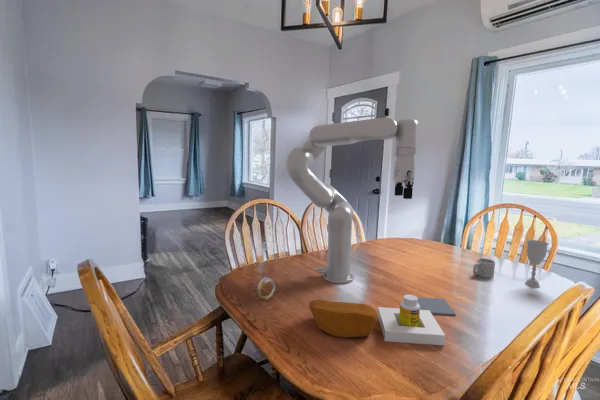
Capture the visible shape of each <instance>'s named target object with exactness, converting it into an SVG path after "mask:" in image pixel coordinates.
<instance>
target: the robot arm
mask: <svg viewBox="0 0 600 400" xmlns="http://www.w3.org/2000/svg"><path fill="white" fill-rule="evenodd" d="M418 125H419V124H418V121H417V120H416V119H413V118H411V119H409V118H408V119H407V118H406V119H405V118H404V119H400V120H395V119H393V118H391V117H378V118H368V119H363V120H362V119H361V120H354V121H346V122H339V123H338V122H337V123H328V124H322V125H321V124H320V125H316V126H313V127H312V128H311V129H310V130H309V133H308V135H309V136H308V139H307V140H306V141H305V142H304V144H303V145H302V146H297V147H294V148H293V149H291V150H290V152H289V154H288V155H287V157H286V172H287V174H288V177H289V178H290V180H291V181H292V182H293V183H294V184H295V185H296V186H297V188H299V190H300V191H302V193H303V194H304V195H305V196H306V197H307V198H308V199H309V200H310V201H311V202H312V203H313V205H315V206H316V207H317V208H320V209H325V211H326V212H327V213H328V216H327V217H328V218H327V224H328V225H327V226H328V227H327V229H328V236H327V237H328V238H327V264H326V266H324V267H323V266H322V267H321V266H317V267H316V272H319V274H323V279H324V280H325V281H327V282H329V283H333V284H338V285H339V284H343V285H344V284H348V283H351V282H353V281H354V278H355V276H354V275H353V273H351V259H352V256H351V255H352V230H353V215H354V208H353V206H352V205H351V204H350V203H349V201H347V200H346V198H345V197H344V196H343V195H341V193H340V192H338V190H337V189H335V188H334V186H332V185H331V184H328V183H323V181H322V180H320V178H318V176H316V174H315V173H313V171H311V170H310V168H309V167H310V166H311V165H313V163H314V162H315V161H316V160H317V159H318V158H319V157H320V156H321V154H323V152H324V151H326V149H327V148H328V147H333V146H334V147H335V146H342V145H343V146H344V145H352V144H355V143H359V142H362V141H363V142H365V141H371V140H372V141H373V140H394V139H395V148H394V149H395V151H394V157H395V161H394V167H393V176H392V177H393V178H392V179H393V181H394V196H402V198H403V200H404V199H406V200H411V199H413V191H414V190H413V188H414V184H415V183H414V181H415V157H416V156H417V141H418Z"/></svg>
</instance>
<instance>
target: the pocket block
mask: <svg viewBox="0 0 600 400" xmlns="http://www.w3.org/2000/svg"><path fill="white" fill-rule="evenodd" d="M399 314H400V307H395V308H394V307H383V306H382V307H381V306H378V307H377V315H378V318H377V320H378V322H379V325H380V329H381V332H382V336H383V340H384V342H389V343H390V342H391V343H393V342H394V343H403V344H404V343H405V344H418V345H430V346H431V345H432V346H445V343H446V334H445V332H444V331H443V329H442V328H441V326H440V324H439V323H438V322H437V320H436V318H435V317H434V314H431V312H430V310H420V313H419V325H418V327H407V326H399Z"/></svg>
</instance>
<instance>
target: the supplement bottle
mask: <svg viewBox="0 0 600 400" xmlns="http://www.w3.org/2000/svg"><path fill="white" fill-rule="evenodd" d="M417 297H418V296H416V295H413V294H405V295H403V298H402V301H401V302H400V304H399V308H400V314H399V322H398V325H399V326H407V327H419V313H420V305H419V304H418V298H417Z"/></svg>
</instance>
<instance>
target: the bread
mask: <svg viewBox="0 0 600 400" xmlns="http://www.w3.org/2000/svg"><path fill="white" fill-rule="evenodd" d="M308 308H309V309H310V312H311V315H312V316H313V319H314V321H315V323H316V325H317V327H318V329H321V330H322V331H323V332H325V333H327V334H328V335H330V336H333V337H337V338H359V337H360V338H361V337H367V336H369V335H370V334H371V333H372V332H373V330H374V327H375V325H376V322H377V321H378V311H376V309H375V308H374V307H372V306H371V305H368V304H367V303H365V304H364V303H360V302H359V303H358V302H357V303H356V302H345V301H331V300H327V299H326V300H325V299H314V300H312V301H309V307H308Z"/></svg>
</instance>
